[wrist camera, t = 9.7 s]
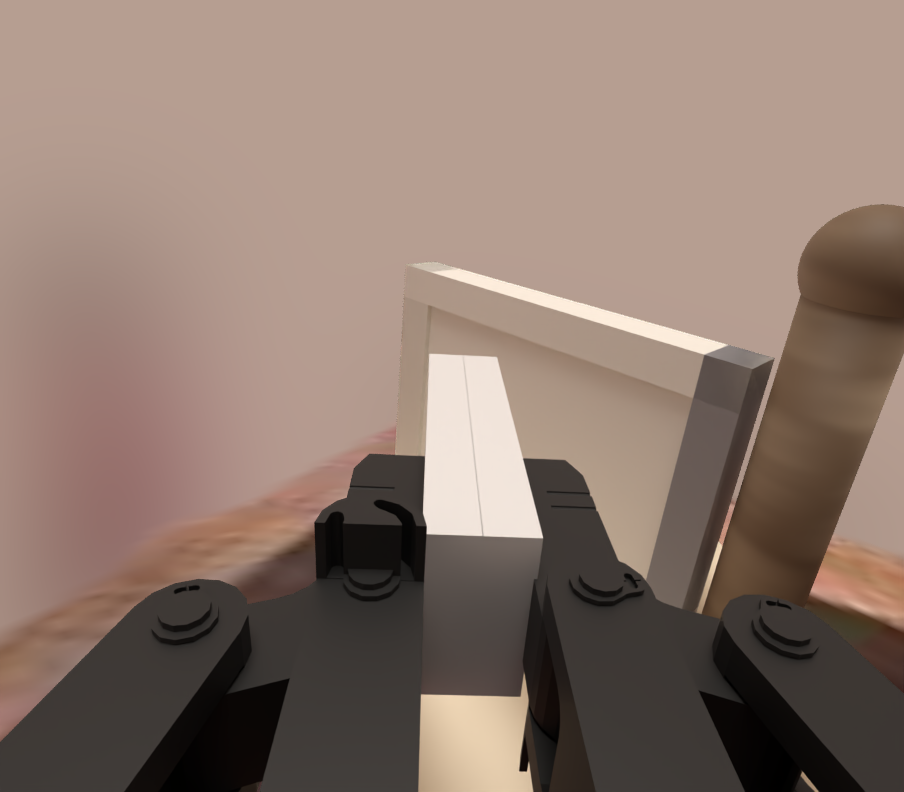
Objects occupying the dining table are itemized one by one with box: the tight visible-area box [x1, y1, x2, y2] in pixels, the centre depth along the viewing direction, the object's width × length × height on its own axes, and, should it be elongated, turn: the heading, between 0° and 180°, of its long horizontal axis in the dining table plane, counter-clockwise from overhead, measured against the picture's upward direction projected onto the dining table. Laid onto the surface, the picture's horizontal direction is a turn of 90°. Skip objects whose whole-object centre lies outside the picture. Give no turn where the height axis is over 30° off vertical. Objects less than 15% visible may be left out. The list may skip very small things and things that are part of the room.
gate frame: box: [418, 204, 904, 792], centre depth 24 cm, size 20×19×19 cm
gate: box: [395, 262, 774, 613], centre depth 28 cm, size 17×2×12 cm, turn 45°
